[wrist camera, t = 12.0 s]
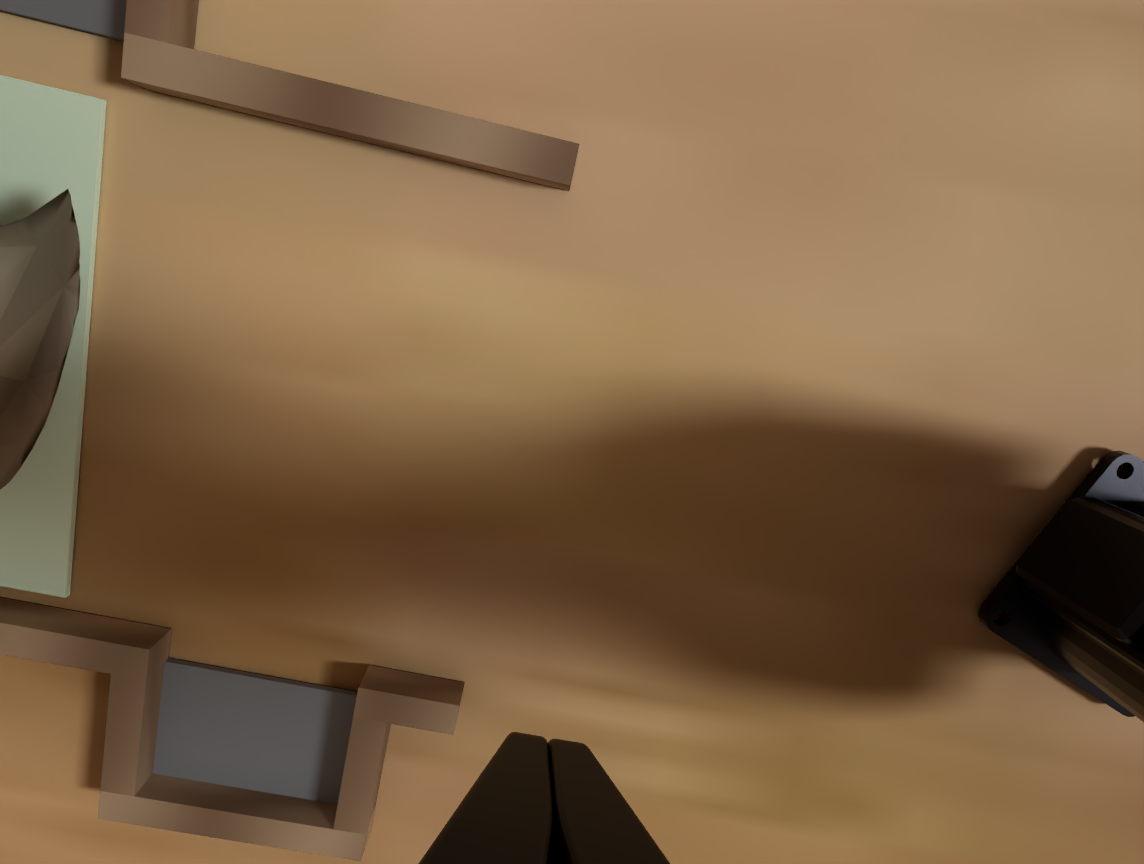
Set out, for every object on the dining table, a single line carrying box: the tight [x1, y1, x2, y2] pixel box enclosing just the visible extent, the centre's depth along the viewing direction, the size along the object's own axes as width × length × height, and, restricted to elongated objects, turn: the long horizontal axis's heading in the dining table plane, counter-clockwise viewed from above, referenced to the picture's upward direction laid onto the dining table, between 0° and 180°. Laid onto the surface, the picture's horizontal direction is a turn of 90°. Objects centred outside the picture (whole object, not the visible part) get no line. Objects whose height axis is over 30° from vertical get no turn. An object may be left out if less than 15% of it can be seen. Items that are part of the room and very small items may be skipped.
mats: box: [0, 0, 357, 804], centre depth 19 cm, size 7×28×1 cm, turn 8°
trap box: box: [0, 0, 579, 861], centre depth 19 cm, size 22×27×1 cm
